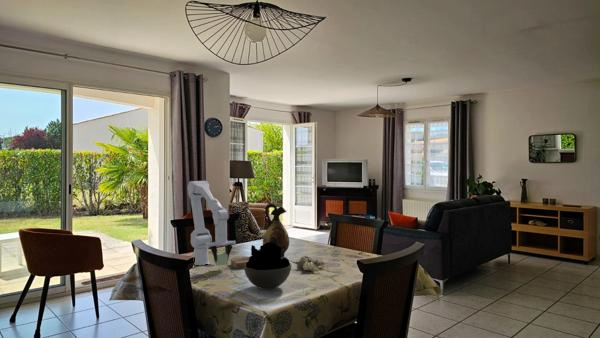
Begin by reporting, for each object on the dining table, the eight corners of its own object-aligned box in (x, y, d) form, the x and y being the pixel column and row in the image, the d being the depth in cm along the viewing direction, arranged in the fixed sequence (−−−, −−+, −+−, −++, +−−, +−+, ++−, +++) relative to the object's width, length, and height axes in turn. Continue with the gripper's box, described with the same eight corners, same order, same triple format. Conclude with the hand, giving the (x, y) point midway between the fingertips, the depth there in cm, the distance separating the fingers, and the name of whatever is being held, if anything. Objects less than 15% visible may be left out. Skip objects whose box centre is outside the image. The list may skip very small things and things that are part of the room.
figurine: (324, 254, 211) (335, 262, 195) (324, 266, 211) (334, 275, 195) (287, 254, 207) (294, 262, 190) (286, 266, 207) (293, 275, 190)
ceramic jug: (291, 252, 240) (290, 202, 239) (287, 258, 224) (287, 205, 224) (262, 252, 241) (262, 202, 241) (257, 258, 226) (257, 204, 226)
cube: (215, 263, 202) (215, 253, 202) (224, 262, 204) (224, 252, 204) (217, 265, 198) (217, 255, 197) (227, 264, 200) (227, 254, 200)
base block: (230, 264, 213) (230, 258, 213) (250, 262, 217) (250, 256, 217) (236, 269, 203) (236, 263, 203) (257, 266, 208) (257, 260, 208)
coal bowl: (291, 280, 181) (291, 239, 181) (291, 295, 161) (291, 248, 161) (246, 281, 181) (246, 239, 181) (241, 296, 161) (241, 249, 161)
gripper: (208, 235, 194) (208, 264, 194) (237, 233, 200) (237, 260, 200) (205, 233, 200) (205, 261, 201) (233, 231, 207) (233, 257, 207)
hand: (221, 260), depth 201 cm, fingers closed on cube, 5 cm apart
